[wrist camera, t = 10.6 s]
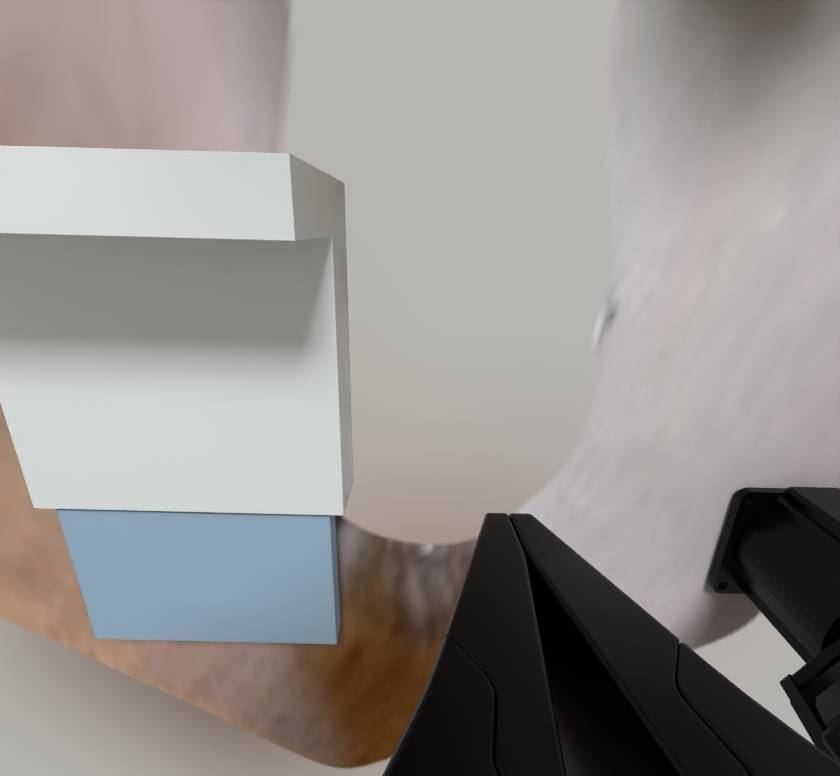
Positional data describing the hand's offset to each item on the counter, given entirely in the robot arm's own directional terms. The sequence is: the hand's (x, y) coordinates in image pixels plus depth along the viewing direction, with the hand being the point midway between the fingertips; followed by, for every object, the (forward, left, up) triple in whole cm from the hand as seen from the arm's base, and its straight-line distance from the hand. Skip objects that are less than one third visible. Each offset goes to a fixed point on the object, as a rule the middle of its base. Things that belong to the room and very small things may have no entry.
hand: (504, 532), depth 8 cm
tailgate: (-7, +12, -11) cm, 18 cm away
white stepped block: (0, +12, -13) cm, 18 cm away
